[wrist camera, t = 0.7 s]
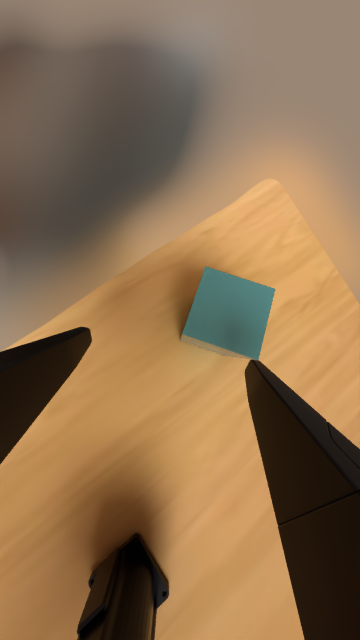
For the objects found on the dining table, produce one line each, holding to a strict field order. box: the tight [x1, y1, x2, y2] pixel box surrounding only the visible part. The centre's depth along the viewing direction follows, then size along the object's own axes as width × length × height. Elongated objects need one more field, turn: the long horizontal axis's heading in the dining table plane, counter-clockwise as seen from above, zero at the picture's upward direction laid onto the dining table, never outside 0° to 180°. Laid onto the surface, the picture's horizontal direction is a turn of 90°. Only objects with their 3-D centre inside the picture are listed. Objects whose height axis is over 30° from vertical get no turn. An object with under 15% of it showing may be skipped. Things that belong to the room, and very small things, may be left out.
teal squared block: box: [180, 266, 275, 360], centre depth 18 cm, size 7×7×10 cm
